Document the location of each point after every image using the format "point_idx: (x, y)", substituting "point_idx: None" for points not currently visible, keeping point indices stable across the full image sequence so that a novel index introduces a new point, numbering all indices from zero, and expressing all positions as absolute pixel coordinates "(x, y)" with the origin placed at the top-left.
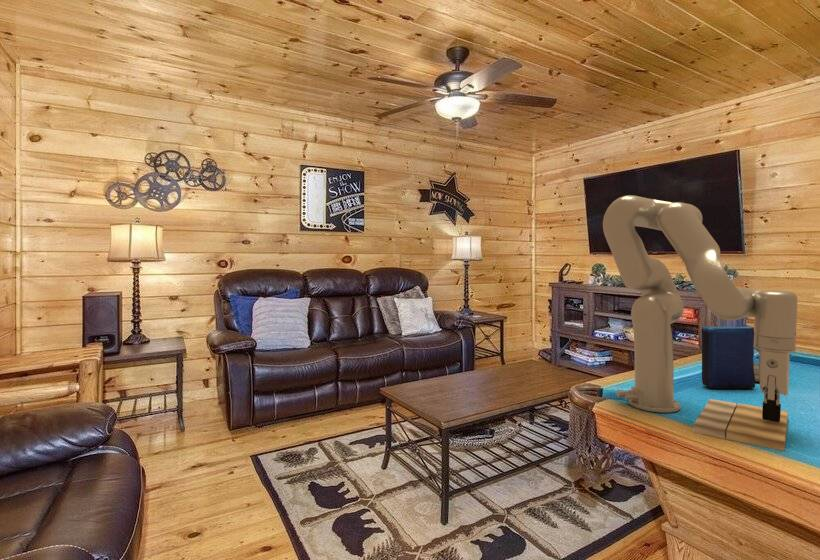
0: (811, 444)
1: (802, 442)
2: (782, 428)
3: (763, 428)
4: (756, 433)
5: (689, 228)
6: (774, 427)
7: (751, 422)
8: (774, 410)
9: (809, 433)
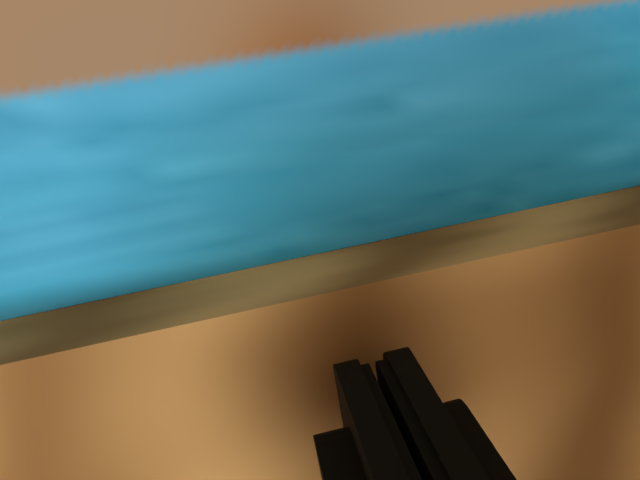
0: (504, 33)
1: (497, 103)
2: (491, 282)
3: (595, 372)
4: None
5: None
6: (505, 331)
7: None
8: (504, 471)
9: (154, 109)
